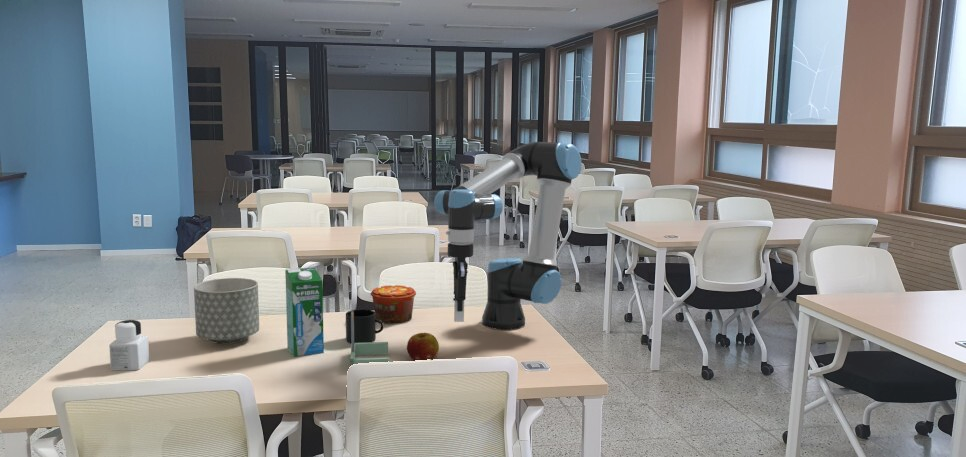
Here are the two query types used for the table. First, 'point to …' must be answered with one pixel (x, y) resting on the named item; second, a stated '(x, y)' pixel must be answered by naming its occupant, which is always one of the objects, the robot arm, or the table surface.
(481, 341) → the table surface
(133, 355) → the container
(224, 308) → the planter
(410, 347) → the fruit
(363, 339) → the mug
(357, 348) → the long-handled green u-channel
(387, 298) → the food container
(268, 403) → the table surface
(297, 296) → the milk carton
